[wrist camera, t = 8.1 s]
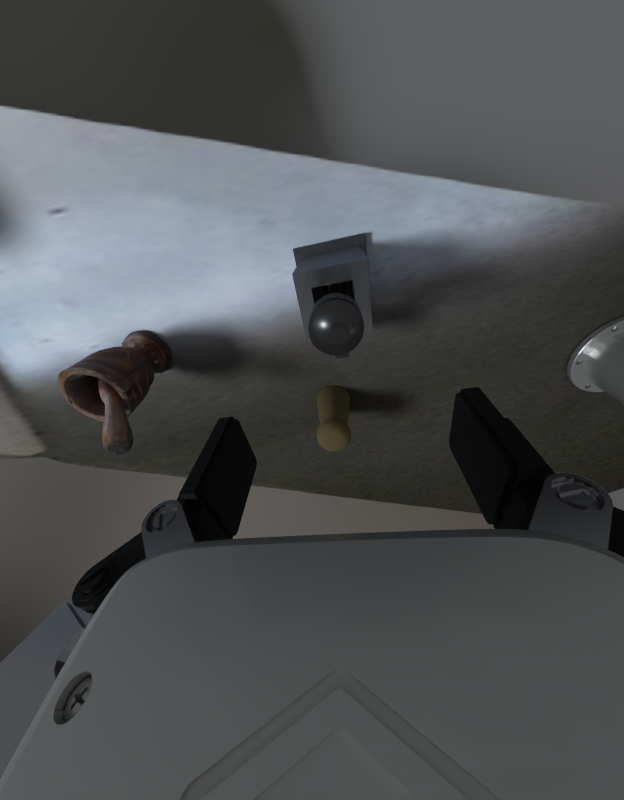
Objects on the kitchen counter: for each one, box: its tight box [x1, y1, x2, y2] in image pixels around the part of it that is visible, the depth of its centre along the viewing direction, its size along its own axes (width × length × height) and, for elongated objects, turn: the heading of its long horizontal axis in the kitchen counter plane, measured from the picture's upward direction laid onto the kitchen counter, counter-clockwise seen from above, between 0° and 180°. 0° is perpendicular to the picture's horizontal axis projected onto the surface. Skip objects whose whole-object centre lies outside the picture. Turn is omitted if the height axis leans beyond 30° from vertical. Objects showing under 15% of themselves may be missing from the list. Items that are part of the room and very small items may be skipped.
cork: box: [317, 386, 351, 451], centre depth 43 cm, size 6×6×11 cm
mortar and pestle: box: [58, 331, 171, 455], centre depth 36 cm, size 12×9×20 cm
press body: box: [292, 233, 373, 358], centre depth 32 cm, size 9×11×12 cm
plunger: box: [308, 281, 364, 355], centre depth 27 cm, size 4×4×15 cm
